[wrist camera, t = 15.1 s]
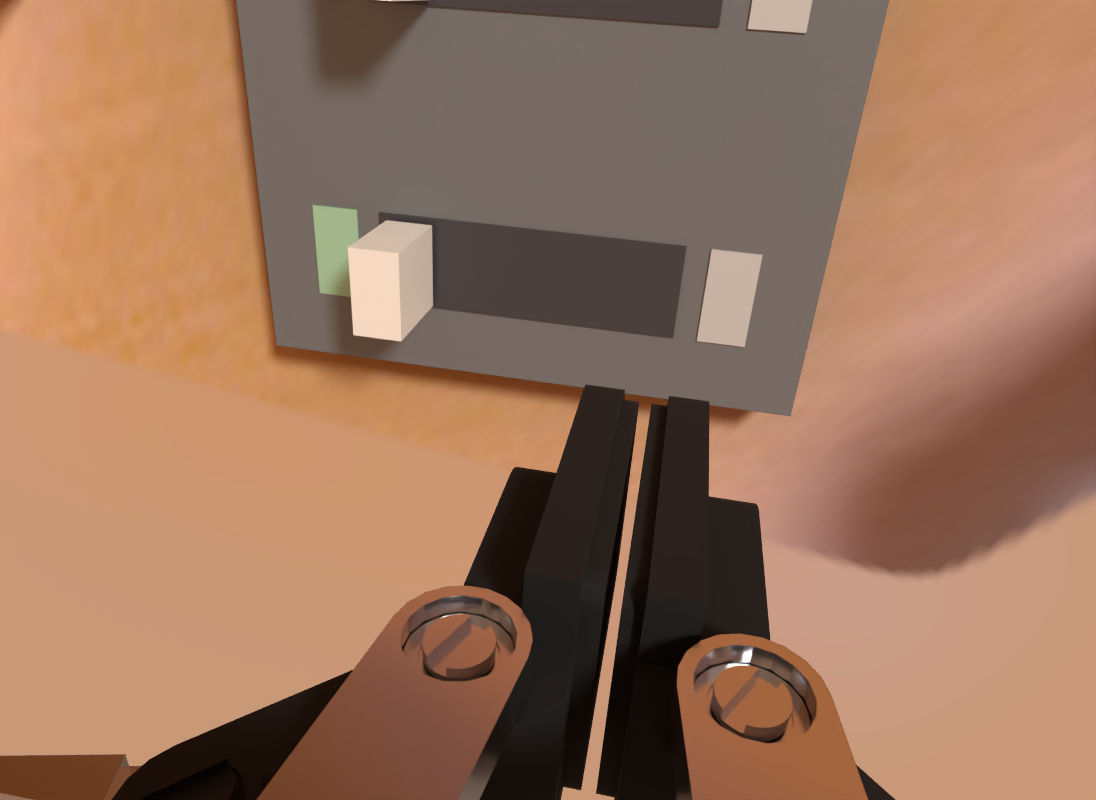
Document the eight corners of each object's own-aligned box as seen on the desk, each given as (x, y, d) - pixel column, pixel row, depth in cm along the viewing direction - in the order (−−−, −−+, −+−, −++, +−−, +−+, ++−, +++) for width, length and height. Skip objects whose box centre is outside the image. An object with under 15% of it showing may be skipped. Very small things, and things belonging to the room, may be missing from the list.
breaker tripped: (432, 225, 33) (398, 253, 29) (433, 305, 34) (401, 341, 31) (386, 220, 33) (347, 247, 29) (389, 300, 35) (353, 335, 31)
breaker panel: (918, -196, 26) (941, -217, 23) (785, 385, 37) (790, 417, 34) (252, -218, 29) (206, -239, 27) (305, 322, 40) (275, 346, 37)
